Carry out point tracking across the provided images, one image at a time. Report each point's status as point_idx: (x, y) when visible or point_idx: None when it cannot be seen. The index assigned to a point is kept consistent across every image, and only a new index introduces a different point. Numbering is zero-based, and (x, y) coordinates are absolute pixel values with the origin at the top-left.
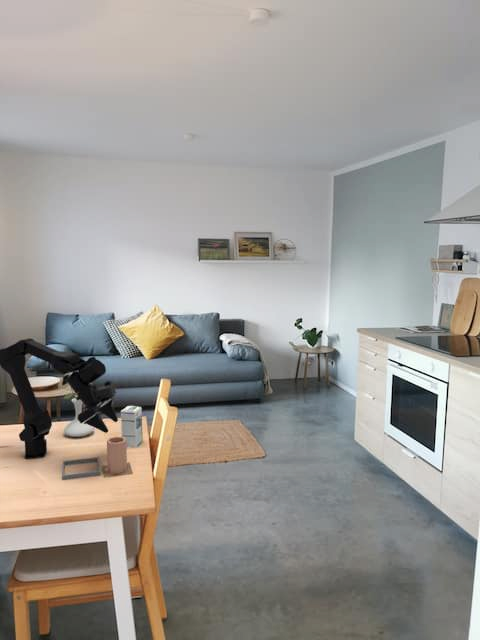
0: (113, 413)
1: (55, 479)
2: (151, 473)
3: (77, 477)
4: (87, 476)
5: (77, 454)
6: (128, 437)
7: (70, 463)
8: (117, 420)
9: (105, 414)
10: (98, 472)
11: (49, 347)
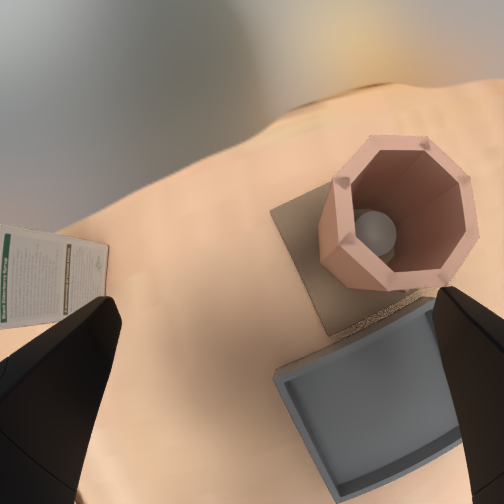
0: (56, 362)
1: (434, 460)
2: (331, 102)
3: None
4: None
5: (196, 479)
6: (71, 281)
7: (331, 474)
8: (111, 298)
9: (82, 460)
10: None
11: None
